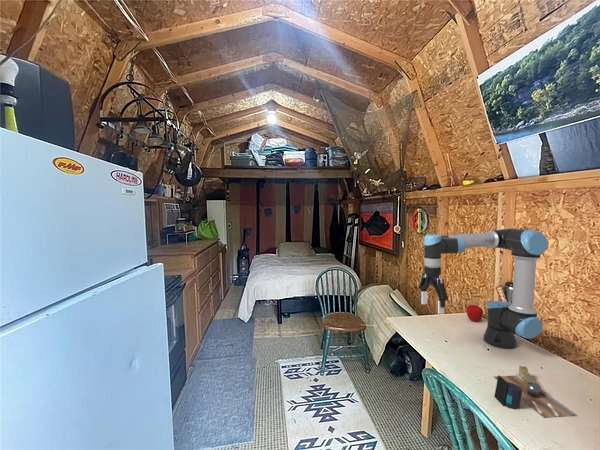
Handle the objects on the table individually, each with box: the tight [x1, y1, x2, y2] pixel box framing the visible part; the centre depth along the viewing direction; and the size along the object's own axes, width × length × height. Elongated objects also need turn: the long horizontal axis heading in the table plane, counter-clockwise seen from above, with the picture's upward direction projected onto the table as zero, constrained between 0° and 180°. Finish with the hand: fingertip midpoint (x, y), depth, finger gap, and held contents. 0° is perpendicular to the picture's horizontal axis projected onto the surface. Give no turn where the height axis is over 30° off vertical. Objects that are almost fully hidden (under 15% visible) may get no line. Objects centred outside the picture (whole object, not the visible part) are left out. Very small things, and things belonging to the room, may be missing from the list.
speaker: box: [493, 374, 523, 410], centre depth 109 cm, size 8×6×10 cm
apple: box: [465, 304, 484, 323], centre depth 190 cm, size 10×10×11 cm
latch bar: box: [518, 365, 541, 397], centre depth 119 cm, size 15×4×4 cm, turn 158°
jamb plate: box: [493, 373, 577, 419], centre depth 115 cm, size 12×25×2 cm, turn 3°
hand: (432, 308), depth 141 cm, fingers open, 13 cm apart
